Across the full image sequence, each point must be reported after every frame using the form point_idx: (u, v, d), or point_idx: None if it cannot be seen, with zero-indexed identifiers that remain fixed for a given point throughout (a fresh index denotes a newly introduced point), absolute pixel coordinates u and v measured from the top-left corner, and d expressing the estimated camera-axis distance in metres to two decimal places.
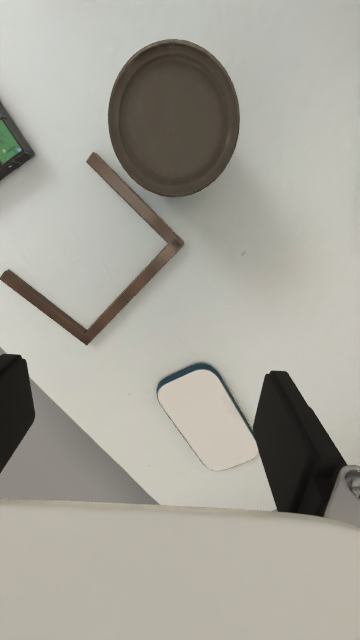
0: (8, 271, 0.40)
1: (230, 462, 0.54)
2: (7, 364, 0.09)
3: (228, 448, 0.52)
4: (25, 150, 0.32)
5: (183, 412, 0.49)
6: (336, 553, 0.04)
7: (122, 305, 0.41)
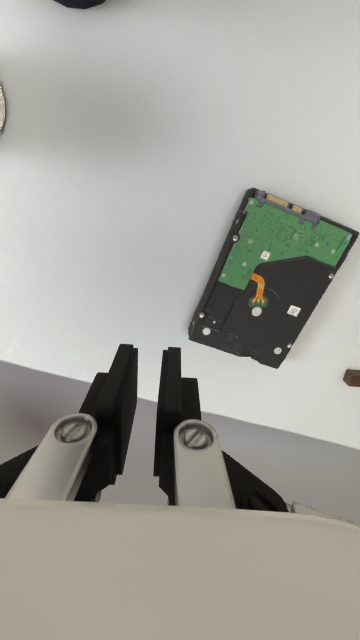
0: (350, 371, 0.32)
1: None
2: (129, 352, 0.11)
3: None
4: (357, 232, 0.24)
5: None
6: (336, 553, 0.04)
7: None
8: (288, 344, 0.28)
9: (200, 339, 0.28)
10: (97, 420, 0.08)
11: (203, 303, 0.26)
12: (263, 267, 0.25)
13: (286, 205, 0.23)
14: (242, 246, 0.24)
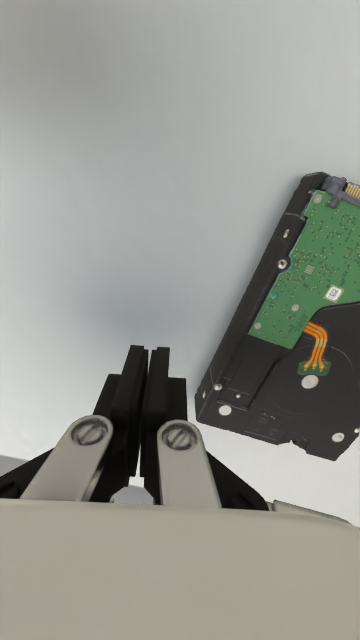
0: None
1: None
2: (141, 353, 0.11)
3: None
4: None
5: None
6: (336, 553, 0.04)
7: None
8: (356, 428, 0.17)
9: (214, 421, 0.17)
10: (112, 422, 0.08)
11: (221, 368, 0.16)
12: (327, 313, 0.14)
13: None
14: (294, 278, 0.13)
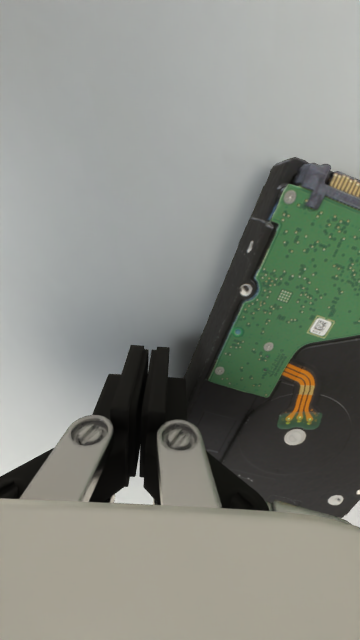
0: None
1: None
2: (141, 354, 0.11)
3: None
4: None
5: None
6: (336, 553, 0.04)
7: None
8: (358, 489, 0.14)
9: None
10: (112, 422, 0.08)
11: None
12: (313, 353, 0.10)
13: None
14: (265, 307, 0.10)
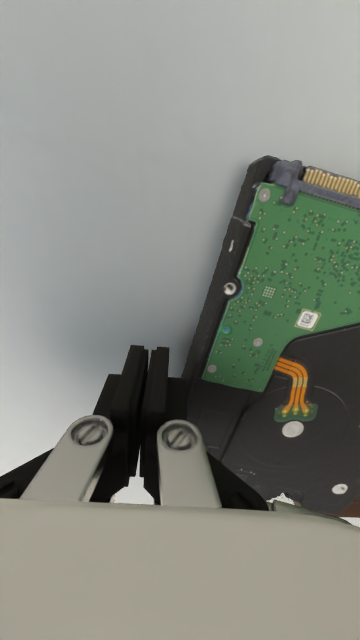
0: None
1: None
2: (141, 354, 0.11)
3: None
4: None
5: None
6: (336, 553, 0.04)
7: None
8: None
9: None
10: (112, 422, 0.08)
11: None
12: (302, 345, 0.10)
13: (358, 192, 0.09)
14: (250, 304, 0.10)
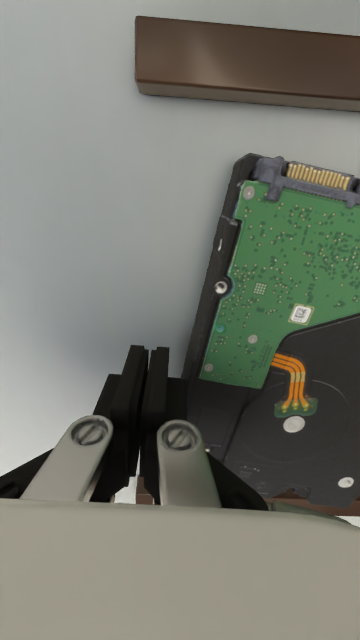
0: (141, 481, 0.17)
1: None
2: (141, 354, 0.11)
3: None
4: None
5: None
6: (336, 553, 0.04)
7: None
8: None
9: None
10: (112, 422, 0.08)
11: None
12: (298, 340, 0.10)
13: (343, 184, 0.08)
14: (242, 302, 0.10)
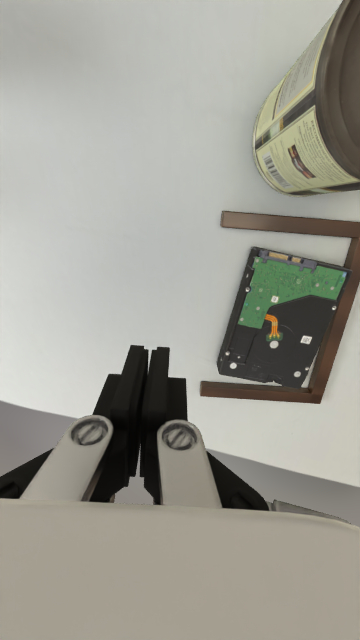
0: (202, 382, 0.36)
1: None
2: (141, 353, 0.11)
3: None
4: (351, 270, 0.28)
5: None
6: (336, 553, 0.04)
7: (338, 339, 0.32)
8: (305, 367, 0.32)
9: (228, 372, 0.32)
10: (112, 422, 0.08)
11: (227, 343, 0.31)
12: (274, 309, 0.30)
13: (286, 258, 0.28)
14: (254, 294, 0.29)
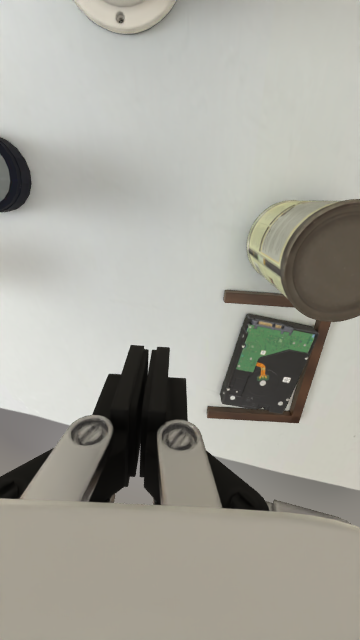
0: (209, 407, 0.47)
1: None
2: (141, 353, 0.11)
3: None
4: (318, 333, 0.39)
5: None
6: (336, 553, 0.04)
7: (311, 377, 0.43)
8: (286, 399, 0.43)
9: (229, 402, 0.43)
10: (112, 422, 0.08)
11: (228, 382, 0.42)
12: (262, 359, 0.40)
13: (271, 325, 0.38)
14: (248, 349, 0.40)
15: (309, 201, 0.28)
